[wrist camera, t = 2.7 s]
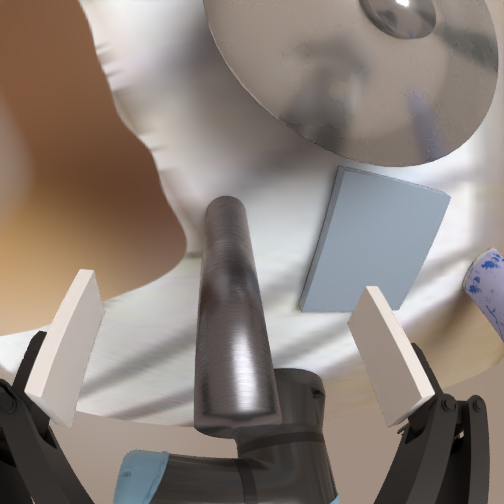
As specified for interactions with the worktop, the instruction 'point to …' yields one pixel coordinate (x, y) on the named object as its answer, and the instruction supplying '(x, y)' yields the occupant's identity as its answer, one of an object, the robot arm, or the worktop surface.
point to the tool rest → (371, 240)
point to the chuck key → (232, 333)
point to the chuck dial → (365, 71)
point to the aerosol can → (488, 287)
